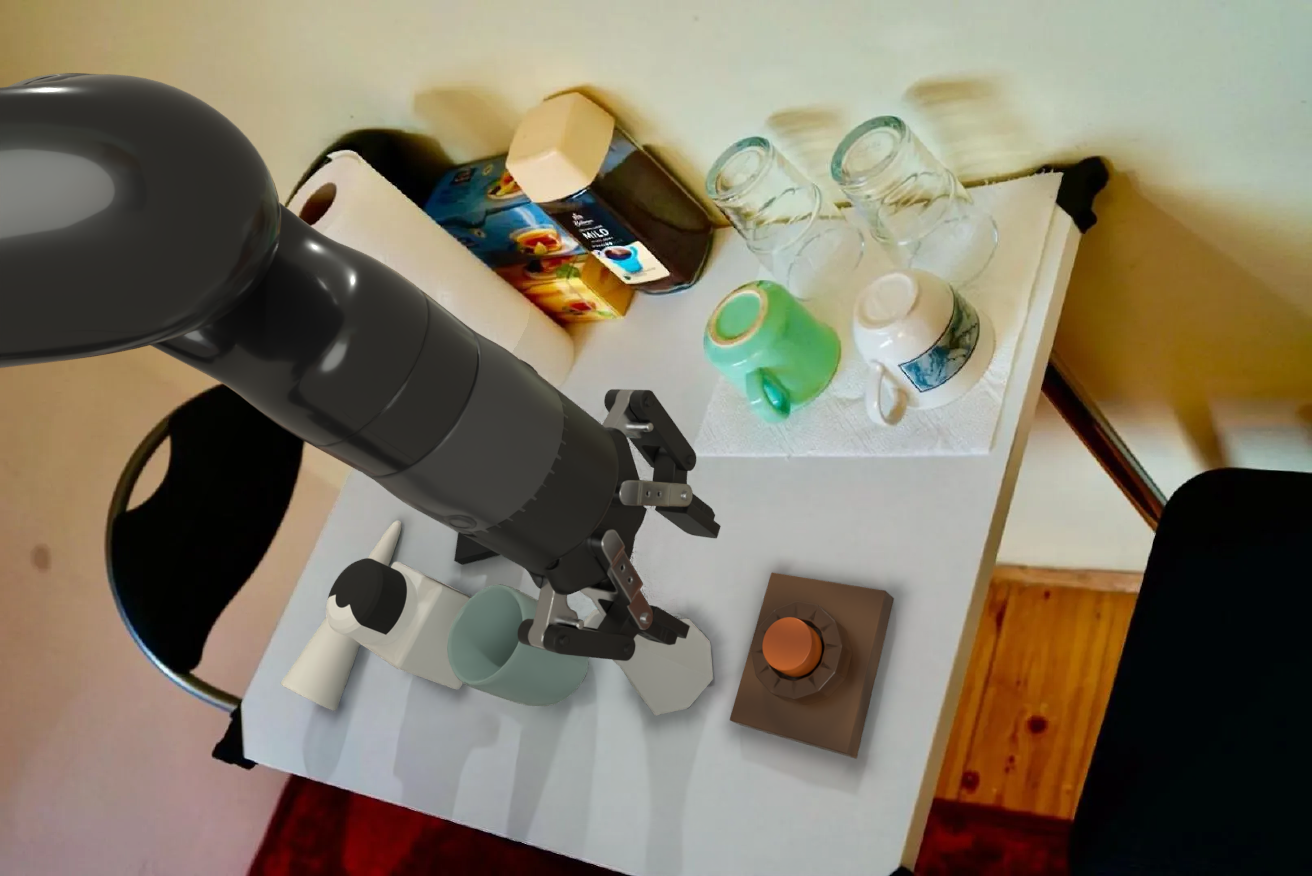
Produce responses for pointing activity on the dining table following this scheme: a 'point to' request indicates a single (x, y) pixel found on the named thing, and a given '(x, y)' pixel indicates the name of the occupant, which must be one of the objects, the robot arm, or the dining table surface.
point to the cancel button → (792, 647)
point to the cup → (508, 651)
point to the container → (397, 616)
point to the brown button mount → (842, 680)
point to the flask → (667, 668)
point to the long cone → (333, 648)
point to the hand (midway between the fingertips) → (690, 579)
